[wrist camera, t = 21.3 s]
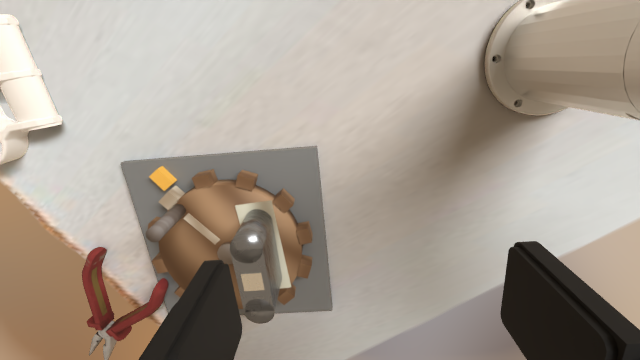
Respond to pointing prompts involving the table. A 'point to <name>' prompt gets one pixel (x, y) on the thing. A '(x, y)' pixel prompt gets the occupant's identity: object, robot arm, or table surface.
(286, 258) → the sprocket wheel
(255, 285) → the chain link
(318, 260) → the index base plate
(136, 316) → the pliers
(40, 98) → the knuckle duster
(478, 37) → the table surface
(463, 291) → the table surface
